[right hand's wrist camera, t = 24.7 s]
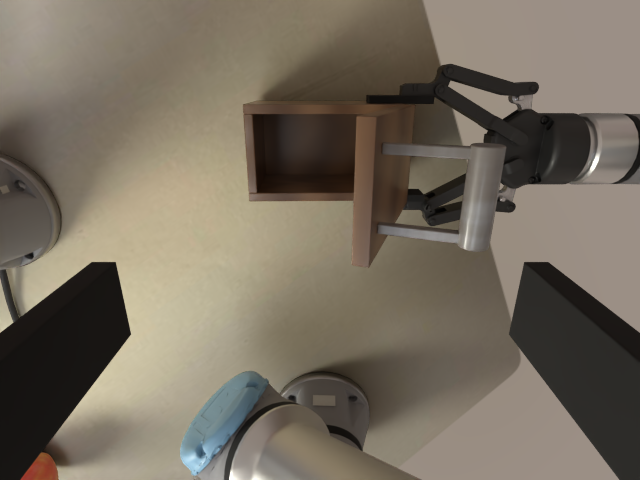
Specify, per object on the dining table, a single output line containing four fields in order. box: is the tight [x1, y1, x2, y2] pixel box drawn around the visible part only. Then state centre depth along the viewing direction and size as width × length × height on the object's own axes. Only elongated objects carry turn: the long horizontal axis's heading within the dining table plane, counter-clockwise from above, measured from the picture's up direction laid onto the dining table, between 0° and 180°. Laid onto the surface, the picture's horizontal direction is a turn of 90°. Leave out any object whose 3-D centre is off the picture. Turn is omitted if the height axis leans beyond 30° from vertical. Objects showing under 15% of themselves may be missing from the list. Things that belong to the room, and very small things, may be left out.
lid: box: [352, 105, 506, 268], centre depth 30 cm, size 17×10×8 cm
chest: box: [243, 101, 407, 201], centre depth 44 cm, size 16×10×10 cm, turn 90°
